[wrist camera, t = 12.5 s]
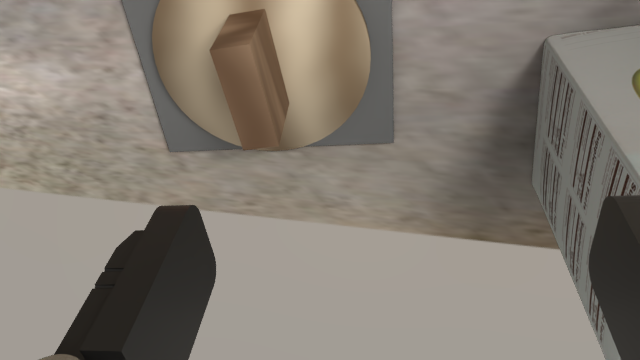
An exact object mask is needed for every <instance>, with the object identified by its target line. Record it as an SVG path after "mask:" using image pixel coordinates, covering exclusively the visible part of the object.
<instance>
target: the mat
mask: <svg viewBox="0 0 640 360" xmlns="http://www.w3.org/2000/svg"><path fill="white" fill-rule="evenodd" d="M356 1H357V3H358V5H359V7H360V9H361V11H362V13H363V16H364V19H365V21H366V24H367V28H368V33H369V37H370V49H371V62H370V73H369V78H368V83H367V86H366V89H365V92H364V94H363V97H362V99H361V100H360V102H359V104H358V106H357V108H356V109H355V110H354V112H353V113H352V115H351V116H350V117H349V118H348V119H347V120H346V121H345V122H344V123H343V124H342V125H341V126H340V127H339V128H338V129H336V130H335V131H334V132H333V133H331V134H330V135H328V136H326V137H325V138H323V139H321V140H319V141H317V142H314V143H312V144H310V145H306V146H326V145H350V144H374V143H394V120H393V44H392V0H356ZM159 2H160V0H122V3H123V6H124V9H125V12H126V15H127V19H128V22H129V25H130V28H131V31H132V34H133V38H134V41H135V44H136V47H137V50H138V53H139V56H140V60H141V63H142V66H143V69H144V72H145V75H146V78H147V82H148V85H149V88H150V91H151V94H152V97H153V100H154V104H155V107H156V110H157V113H158V116H159V119H160V122H161V126H162V129H163V132H164V135H165V138H166V141H167V144H168V148H169V151H170V152H181V151H205V150H229V149H243V148H242V147H241V146H238V145H235V144H232V143H229V142H227V141H224V140H222V139H220V138H218V137H216V136H214V135H212V134H210V133H209V132H207V131H206V130H204V129H203V128H201V127H200V126H199V125H197V124H196V123H195V122H194V121H192V120H191V119H190V118H189V117H188V116H187V115H186V114H185V113H184V112H183V111H182V110H181V109H180V108H179V106H178V105H177V104H176V103H175V102H174V100H173V99H172V97H171V96H170V94H169V93H168V91H167V90H166V88H165V86H164V84H163V82H162V80H161V78H160V75H159V72H158V69H157V66H156V63H155V58H154V53H153V44H152V31H153V22H154V17H155V13H156V9H157V7H158V4H159Z"/></svg>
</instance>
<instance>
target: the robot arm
mask: <svg viewBox="0 0 640 360" xmlns="http://www.w3.org/2000/svg"><path fill="white" fill-rule="evenodd" d="M589 276H590V281H591V284H592V287H593V290H594V293H595V295H596V298H597V300H598V303H599V305H600V308H601V310H602V313H603V315H604V318H605V320H606V323H607V325H608V328H609V330H610V333H611V335H612V338H613V340H614V343H615V345H616V348H617V350H618V353H619V355H620V358H621V360H640V195H625V196H607V197H606V198H605V199H604V201H603V204H602V207H601V211H600V215H599V219H598V223H597V227H596V230H595V234H594V238H593V242H592V246H591V250H590V254H589ZM215 277H216V261H215V257H214V253H213V250H212V247H211V244H210V241H209V238H208V235H207V232H206V229H205V226H204V223H203V220H202V217H201V214H200V211H199V209H198V208H197V207H196V206H195V205H179V206H159V207H158V208H157V209H156V210H155V212H154V213H153V215H152V217H151V219H150V221H149V222H148V224H147V226H146V228H145V230H144V231H143V230H141V231H134V232H133V233H132V234H131V235H130V236H129V237H128V238H127V239H126V240H124V241H123V242H122V243H121V244H120V245H119V246H118V247H117V248H116V249H115V251H114V253H113V254H112V256H111V258H110V260H109V261H108V263H107V265H106V266H105V272H102V273H101V275H100V277H99V278H98V280H97V282H96V284H95V289H92V290H91V292H90V294H89V296H88V297H87V299H86V301H85V303H84V304H83V306H82V308H81V310H80V311H79V313H78V315H77V316H76V318H75V320H74V322H73V323H72V325H71V327H70V328H69V330H68V332H67V334H66V335H65V337H64V339H63V340H62V342H61V344H60V346H59V347H58V349H57V351H56V352H55V354H54V355H51V356H48V357H44V358H42V359H39V360H188V359H189V356H190V353H191V350H192V347H193V344H194V341H195V339H196V336H197V333H198V330H199V327H200V324H201V321H202V318H203V316H204V312H205V310H206V307H207V304H208V301H209V298H210V295H211V292H212V289H213V287H214V283H215Z"/></svg>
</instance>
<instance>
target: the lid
mask: <svg viewBox="0 0 640 360" xmlns="http://www.w3.org/2000/svg"><path fill="white" fill-rule="evenodd" d="M152 44H153V53H154V58H155V63H156V66H157V69H158V72H159V75H160V78H161V80H162V82H163V84H164V86H165V88H166V90H167V91H168V93H169V94H170V96H171V97H172V99H173V100H174V102H175V103H176V104H177V105H178V106H179V108H180V109H181V110H182V111H183V112H184V113H185V114H186V115H187V116H188V117H189V118H190V119H191V120H192V121H194V122H195V123H196V124H197V125H199V126H200V127H201V128H203V129H204V130H206V131H207V132H209V133H210V134H212V135H214V136H216V137H218V138H220V139H222V140H224V141H227V142H229V143H232V144H235V145H238V146H241V147H242V148H243V150H251V149H256V150H265V151H280V150H289V149H295V148H300V147H303V146H306V145H310V144H312V143H314V142H317V141H319V140H321V139H323V138H325V137H326V136H328V135H330V134H331V133H333V132H334V131H335V130H336V129H338V128H339V127H340V126H341V125H342V124H343V123H344V122H345V121H346V120H347V119H348V118H349V117H350V116H351V115H352V113H353V112H354V110H355V109H356V108H357V106H358V104H359V102H360V100H361V99H362V97H363V94H364V92H365V89H366V86H367V83H368V78H369V73H370V62H371V49H370V37H369V33H368V28H367V24H366V21H365V19H364V16H363V13H362V11H361V9H360V7H359V5H358V3H357V1H356V0H160V2H159V4H158V7H157V9H156V13H155V17H154V22H153V31H152Z"/></svg>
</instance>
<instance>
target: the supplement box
mask: <svg viewBox="0 0 640 360" xmlns="http://www.w3.org/2000/svg"><path fill="white" fill-rule="evenodd" d="M532 185H533V187H534V189H535V191H536V194H537V196H538V198H539V200H540V203H541V205H542V207H543V210H544V212H545V215H546V217H547V220H548V222H549V224H550V227H551V229H552V231H553V234H554V236H555V239H556V241H557V244H558V246H559V248H560V250H561V253H562V255H563V258H564V260H565V262H566V265H567V267H568V270H569V272H570V275H571V277H572V279H573V282H574V284H575V286H576V289H577V291H578V294H579V296H580V298H581V301H582V303H583V306H584V308H585V311H586V313H587V316H588V318H589V320H590V323H591V325H592V327H593V330H594V332H595V335H596V337H597V340H598V342H599V344H600V347H601V349H602V352H603V354H604V357H605V359H606V360H621V358H620V355H619V353H618V350H617V348H616V345H615V343H614V340H613V338H612V335H611V333H610V330H609V328H608V325H607V323H606V320H605V318H604V315H603V313H602V310H601V308H600V305H599V303H598V300H597V298H596V295H595V293H594V290H593V287H592V284H591V281H590V276H589V254H590V250H591V246H592V242H593V238H594V234H595V230H596V227H597V223H598V219H599V215H600V211H601V207H602V204H603V201H604V199H605V198H606V197H607V196H625V195H640V25H636V26H628V27H619V28H610V29H602V30H592V31H582V32H574V33H567V34H560V35H553V36H550V37H548V38H547V39H546V40H545V43H544V49H543V58H542V69H541V81H540V92H539V103H538V115H537V126H536V137H535V148H534V160H533V173H532Z"/></svg>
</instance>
